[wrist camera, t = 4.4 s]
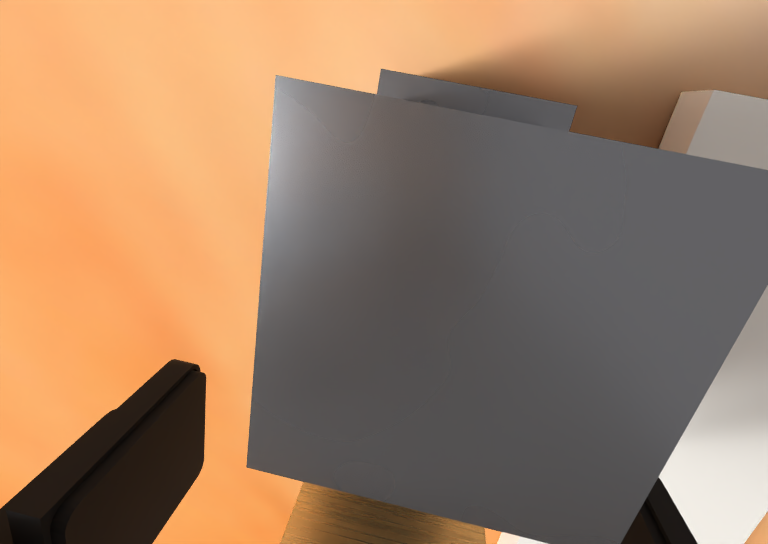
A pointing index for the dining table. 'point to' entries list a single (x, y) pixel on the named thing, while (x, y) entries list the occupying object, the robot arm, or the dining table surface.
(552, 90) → the dining table surface
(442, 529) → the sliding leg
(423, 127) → the rail
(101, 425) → the robot arm
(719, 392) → the hole plate
